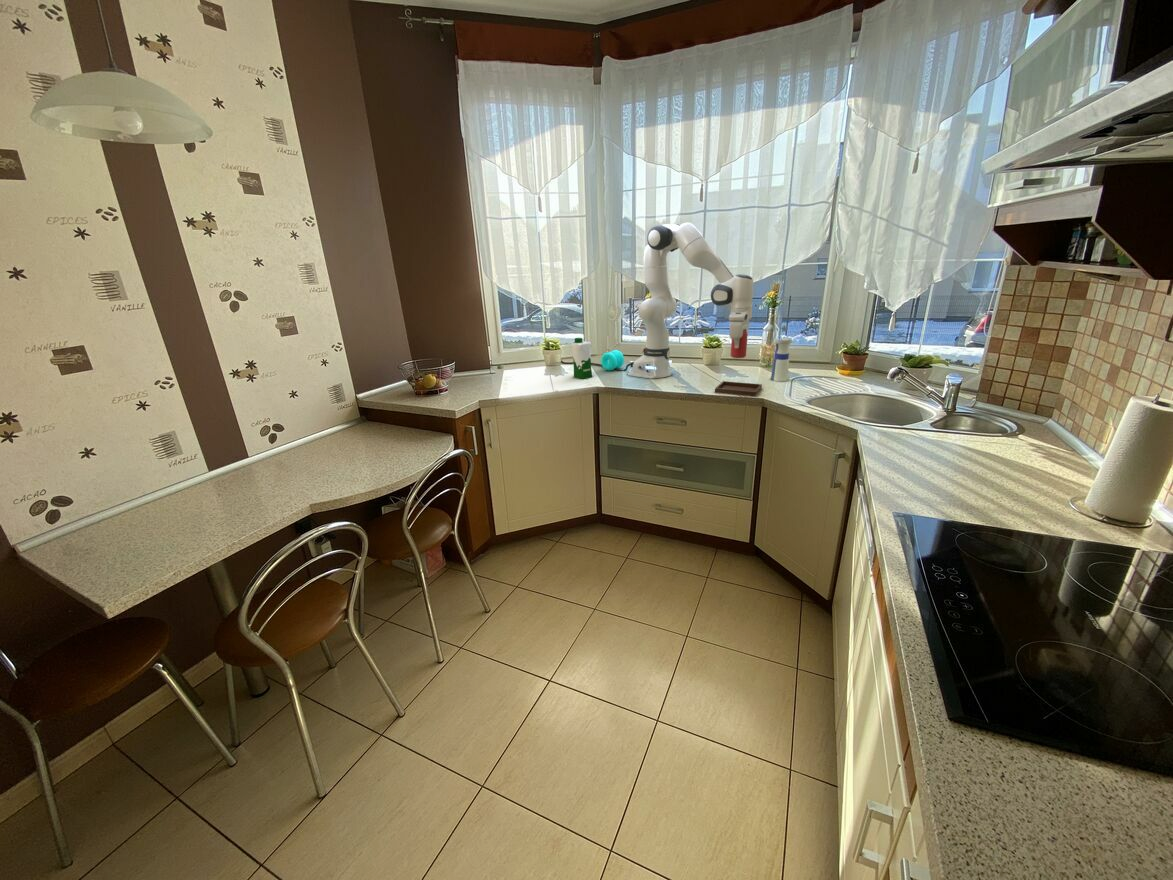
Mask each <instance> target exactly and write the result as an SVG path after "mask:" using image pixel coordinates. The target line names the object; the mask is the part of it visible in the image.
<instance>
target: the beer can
mask: <svg viewBox="0 0 1173 880" xmlns="http://www.w3.org/2000/svg"><path fill="white" fill-rule="evenodd" d="M748 335H749V334H748V333H747V331H746V329H745V330H743V336H742V337H741V338H740V340H739V344H740V345H739V348H735V344H734V339H731V342H730V343H731V345H730V357H731V358H734V359H745V358H746V357H747V348H748V337H749V336H748Z"/></svg>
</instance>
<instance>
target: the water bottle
mask: <svg viewBox="0 0 1173 880" xmlns="http://www.w3.org/2000/svg"><path fill="white" fill-rule="evenodd" d="M787 329H788V327H787V326H786V325H783V327H780V330H781V333H783V332H785V333H787ZM791 344H793V339H792V338H791V337H783V338H782V339H778V338H776V337H775V338H774V340H773V342H772V345H775V349H774V351H773V352H774V356H773V357H774V358H773V359H772V360H773V361H772V368H771V375H770V380H771V381H773V382H787V381H789V369H790V359H789V358H790V353H791V350H790V345H791Z"/></svg>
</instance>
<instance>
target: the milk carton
mask: <svg viewBox="0 0 1173 880" xmlns="http://www.w3.org/2000/svg"><path fill="white" fill-rule="evenodd" d="M592 344H593V343H592V342H590V341H585V340H583V337H575V338H574V342H571V343H570V346H571V350H572V360H573V361H572V362H573V363H574V364H573V378H575V379H580V380H584V379H589V378H592V377H593V371H592V365H591V363H592V356H591V355H592V354H591V353H592V352H591V349H592Z"/></svg>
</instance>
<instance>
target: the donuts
mask: <svg viewBox="0 0 1173 880" xmlns="http://www.w3.org/2000/svg"><path fill="white" fill-rule="evenodd" d="M624 363H625V357H624V354H623V353H622V352H621V351H620V350H617V349H613V350H611V351H609V352H605V353H603V354H602V356H601V358H600V364H601V365H602V366H603V367H602V366H601V367H602V368H603V369H604V370H606V371H609V372H611V371H614V370H613V369H620V368H621V367H623V365H624Z"/></svg>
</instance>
